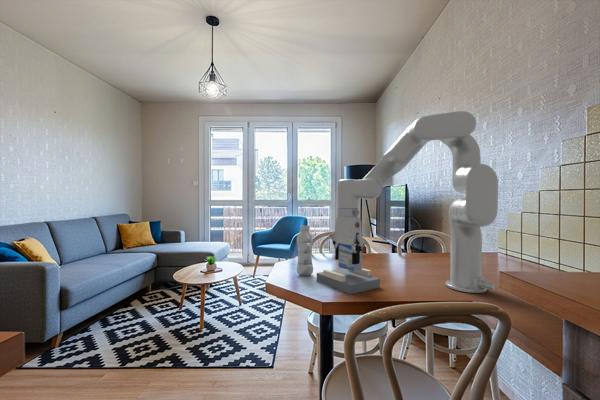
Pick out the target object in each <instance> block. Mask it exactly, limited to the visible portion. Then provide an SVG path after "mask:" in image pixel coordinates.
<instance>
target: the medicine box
mask: <svg viewBox="0 0 600 400" xmlns="http://www.w3.org/2000/svg"><path fill="white" fill-rule="evenodd" d="M355 248H357V246H355ZM352 253H354V252H353V250H352V247H351V246H349V245H344V244H339V260H338V267H339V268H340V269H343V268H345V269H348V270H352V271H356V270H361V269H362V268H363V249H362V250H361V252H360V263H359V264H352Z"/></svg>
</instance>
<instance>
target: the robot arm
mask: <svg viewBox="0 0 600 400" xmlns="http://www.w3.org/2000/svg"><path fill="white" fill-rule="evenodd" d="M476 119H477V118H476V117H475V116H474V115H473V113H471V112H469V111H464V110H461V111H460V110H458V111H450V112H445V113H444V112H443V113H437V114H429V115H425V116H421V117H418V118H417V119H416V120H414V121H413V122H412V123H411V124H410V125H409V126H408V127H406V129H405V130H404V131H403V132H402V134H401V135H400V136H399V137H397V139H396V141H395V142H394V143H393V144H392V145H391V146H390V147H389V148H388V150H387V151H385V153H384V154H383V155H382V156H381V158H380V159H379V161H378V162H377V163H376V164H375V165H374V166H373V167H372V168H371V169H370V171H368V173H367V174H365V176H364V177H363V178H362V179H353V178H343V179H339V180H338V182H337V201H336V202H337V204H336V205H337V210H336V211H337V212H336V213H337V214H336V215H337V216H336V218H335V219H336V220H335V225H334V234H332V235H331V237H330V239H331V241H332V245H333V249H335V251H334V259H335V261H339V244H344V245H349V246H351V247H352V250H353V252H354V253H352V264H359V263H360V252H361V250H362V251H363V249H364V248H365V246H366V244H367V241H366V240H364V238H363V229H362V221H361V217H359V215H360V210H359V200H360V199H363V200H366V201H367V200H369V201H371V200H375V199H377V198H378V197H380V196H381V194H382V191H383V188H382V187H384V185H385V184H386V183H387V182H388V181H390V179H391V178H393V176H395V175H397V174H398V173H399V172H401V171H402V170H403V169H404V168H406V166H408V164H409V163H410V162H411V161H412V160H413V159H414V157H415V156H416V155H418V153H419V152H420V151H421V150H422V149H423V147H425V145H427V143H428V142H431V141H440V142H442V143H443V144H444V145H445V146H447V147H448V149H450V150H449V151H450V152H451V156H452V180H451V181H452V187H453V188H454V190H455V191H456V192H458V193H460V194H465V197H460V198H457V199H455V200H453V201H452V202H451V203H450V206H449V208H448V223H449V228H450V262H449V265H450V267H449V270H450V273H449V274H450V275H449V276H450V277H449V278H450V279H448V280H446V281H445V286H446V287H447V288H449V289H451V290H453V291H454V290H455V291H459V292H464V293H470V294H471V293H472V294H483V293H486V292H487V291H488V290H495V288H496V285H495V283H494V282H492V281H487V280H486V279H485V278H486V277H485V276H484V275H483V273H482V269H483V268H482V264H483V261H482V260H483V259H482V258H483V257H482V256H483V237H482V235H483V234H482V230H481V228H483V227H484V228H485V227H488V226H490V225H492V224H493V222H494V221H495V220H496V218H497V215H498V208H499V205H498V204H499V180H498V176H497V173H496V171H495V170H494V168H493V167H492V166H490V165H488V164H485V163H482V161H481V148H480V146H479V144H478V143H479V142H477V140H476V139H475V138H474V137H473V135H472V134H473V133H474V131H475V130H476V126H477V120H476ZM355 246H357V248H355Z"/></svg>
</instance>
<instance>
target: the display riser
mask: <svg viewBox="0 0 600 400" xmlns="http://www.w3.org/2000/svg"><path fill="white" fill-rule="evenodd" d="M380 280H381V279H380V278H378V277H376V276H372V270H371V269H366V268H363V267H362V269H361V270H356V271H352V270H348V269H345V268H339V269H338V268H337V269H332V270H330V269H327V268H326V269H323V271H321V272H316V282H318V283H320V284H323V285H326V286H328V287H329V288H330V287H331V288H333V289H335V290H336V289H337V290H338V291H341V292H344V293H347V294H349V295H353V294H359V293H361V292H366V291H369V290H370V291H371V290H374V289H378V288H380V284H381V281H380Z"/></svg>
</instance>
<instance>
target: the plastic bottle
mask: <svg viewBox="0 0 600 400" xmlns="http://www.w3.org/2000/svg"><path fill="white" fill-rule="evenodd" d="M310 228H311V226H310V225H303V224H302V225H300V228H299V229H300V232H299V233H298V235H297V236H296V245H297V246H296V247H297V264H296V273H297V275H298V276H302V277H307V276H308V277H309V276H312V275H313V272H314V265H313V259H312V258H313V257H312V251H313V242H314V239H313V236H312V234H311V232H310V230H311V229H310Z"/></svg>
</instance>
